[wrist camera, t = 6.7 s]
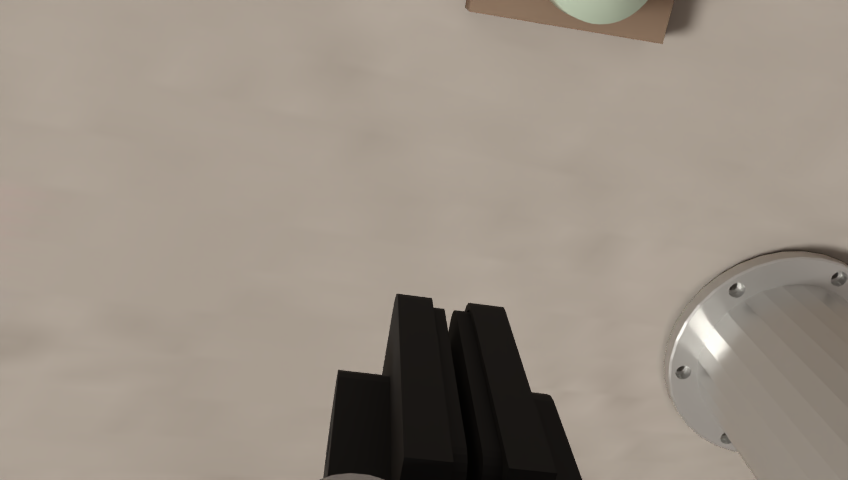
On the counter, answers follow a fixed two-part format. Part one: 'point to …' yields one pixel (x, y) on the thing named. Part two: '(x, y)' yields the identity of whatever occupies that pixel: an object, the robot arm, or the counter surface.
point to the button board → (535, 6)
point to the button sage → (599, 9)
